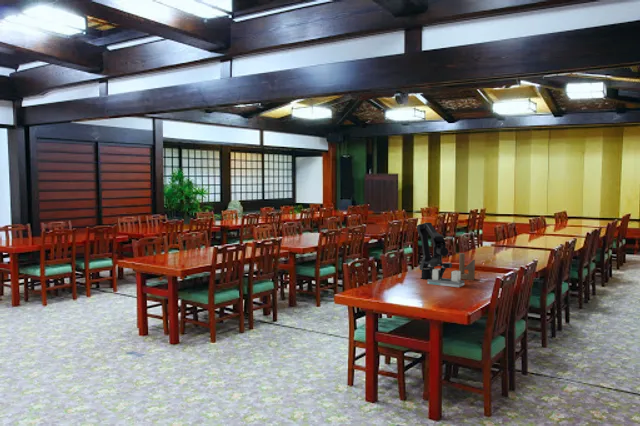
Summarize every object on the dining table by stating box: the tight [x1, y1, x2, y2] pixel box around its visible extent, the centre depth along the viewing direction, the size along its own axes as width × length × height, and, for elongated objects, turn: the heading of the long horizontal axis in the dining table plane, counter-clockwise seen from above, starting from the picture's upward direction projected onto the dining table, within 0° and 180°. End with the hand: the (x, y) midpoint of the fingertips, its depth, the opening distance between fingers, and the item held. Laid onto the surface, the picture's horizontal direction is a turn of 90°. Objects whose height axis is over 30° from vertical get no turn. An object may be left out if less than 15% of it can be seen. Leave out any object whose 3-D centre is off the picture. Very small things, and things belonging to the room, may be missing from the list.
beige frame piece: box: [458, 252, 476, 281], centre depth 369 cm, size 4×11×18 cm, turn 53°
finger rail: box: [426, 270, 465, 288], centre depth 351 cm, size 22×10×10 cm, turn 55°
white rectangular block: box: [432, 268, 443, 280], centre depth 354 cm, size 6×4×8 cm
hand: (437, 277), depth 354 cm, fingers open, 5 cm apart
